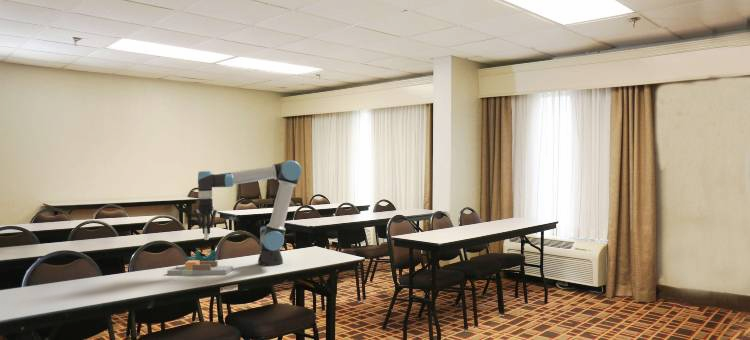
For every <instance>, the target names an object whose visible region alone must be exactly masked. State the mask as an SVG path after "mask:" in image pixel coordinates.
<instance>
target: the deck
mask: <svg viewBox="0 0 750 340" xmlns="http://www.w3.org/2000/svg"><path fill="white" fill-rule="evenodd" d="M218 262H219V261H218V260H215V261H200V265H192V267H193V269H185V265H183V266H175V267H172V268H170V269H168V270H167V271H166V273H167V276H193V275H194V276H205V275H206V276H212V275H213V276H218V275H219V276H221V275H226V276H227V275H228V274H229V273H231V272H232V271H234V266H233V265H218Z"/></svg>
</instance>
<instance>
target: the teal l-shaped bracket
mask: <svg viewBox="0 0 750 340" xmlns="http://www.w3.org/2000/svg"><path fill="white" fill-rule="evenodd" d="M189 260H200V261H216V250H211V251H210V253H209V255H207V256H204V255H203V256H202V255H201V251H200V250H195V255H194V256H187V257H186V262H187V261H189Z"/></svg>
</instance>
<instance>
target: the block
mask: <svg viewBox="0 0 750 340" xmlns="http://www.w3.org/2000/svg"><path fill="white" fill-rule="evenodd" d="M184 264H185V265H184V266H185V269H193V267H192V265H200V260H189V261H187V260H186V262H184Z"/></svg>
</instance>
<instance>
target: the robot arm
mask: <svg viewBox="0 0 750 340" xmlns="http://www.w3.org/2000/svg"><path fill="white" fill-rule="evenodd" d="M212 172H213V171H210V170H205V171H204V170H201V171H198V173H197V185H198V186H197V189H198V192H197V193H198V194H197V195H198V208H197V209H196V210H194V214H195V216H196V219H197V223H198V227H199V228H202V234H203V235H204V236H203V237H204V240H205V241H207V240H209V239H210V234H211V228H212V227H214V226H215V225H214V224H215V221H216V220H215V219H216V215H217V212H218V210H217V209H215V208H214V206H213V205H214V204H213V202H214V201H213V188H232V187H234V185H240V184H246V183H247V184H248V183H254V182H260V181H267V180H271V179H274V180H277V182H278V183H279V185H278V189H277V193H276V197H275V200H274V205H273V208H272V213H271V217H270V220H269V223H268V224H266V226H261V227H260V229H259V234H260V235H259V238H260V240H259V241H260V243H259V244H260V245H259V246H260V253H259V256H258V258H257V259H258V260H257V265H258V266H266V267H267V266H279V265H282V264H283V263H284V259H283V256H282V253H281V250H280V249H281V248H282V247H283V245H284V243H285V235H286V230H287V229H286V228H285V222H286V219H287V215H288V211H289V207H290V204H291V200H292V195H293V193H294V192H293V191H294V188H295V187H296V186H298V183H299V179H300V177H301V176H302V173H303V171H302V166H301V165H300V163H299V162H297V161H296V160H291V159H290V160H285V161H283V162H279V163H274V164H272V165H270V166H264V167H259V168H252V169H245V170H239V171H238V170H237V171H231V172H225V173H218V174H216V173H215V174H214V173H212ZM211 213H212V214H211Z"/></svg>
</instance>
